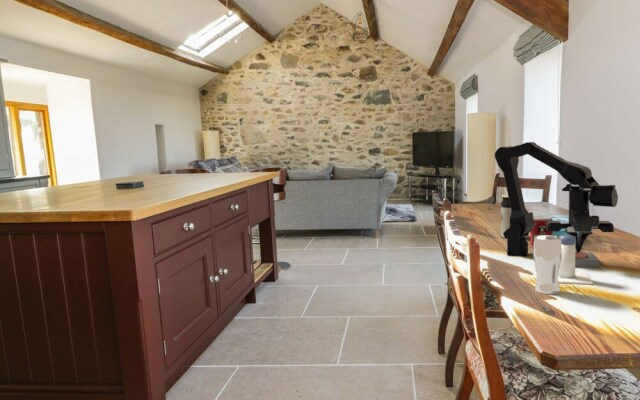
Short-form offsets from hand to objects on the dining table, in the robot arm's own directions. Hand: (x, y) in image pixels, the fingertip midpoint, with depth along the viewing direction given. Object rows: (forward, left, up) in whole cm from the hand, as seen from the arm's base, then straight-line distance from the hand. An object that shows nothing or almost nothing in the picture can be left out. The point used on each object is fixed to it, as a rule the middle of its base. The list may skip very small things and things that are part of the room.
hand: (578, 251), depth 147 cm
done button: (0, 0, -3) cm, 3 cm away
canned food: (-8, +26, -4) cm, 27 cm away
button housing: (0, 0, -4) cm, 4 cm away
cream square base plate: (-6, -18, -4) cm, 19 cm away
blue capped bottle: (-6, -18, -3) cm, 19 cm away
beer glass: (-13, -31, -4) cm, 34 cm away
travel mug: (-18, +40, -4) cm, 44 cm away
